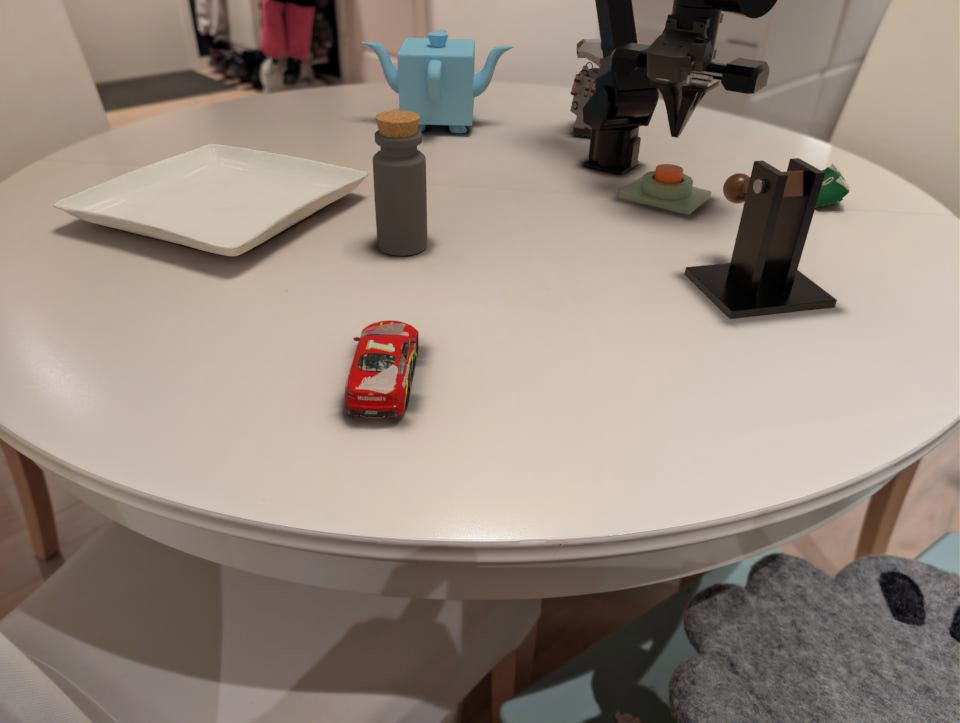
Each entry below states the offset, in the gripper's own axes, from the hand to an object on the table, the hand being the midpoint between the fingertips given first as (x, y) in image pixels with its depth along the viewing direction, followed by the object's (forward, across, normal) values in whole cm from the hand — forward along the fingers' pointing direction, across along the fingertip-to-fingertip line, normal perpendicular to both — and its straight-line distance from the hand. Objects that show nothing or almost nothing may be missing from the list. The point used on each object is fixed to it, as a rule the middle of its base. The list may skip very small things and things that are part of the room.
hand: (675, 136), depth 96 cm
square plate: (+9, -43, -39) cm, 59 cm away
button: (+6, 0, 0) cm, 6 cm away
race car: (+9, -3, -55) cm, 56 cm away
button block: (+9, 0, 0) cm, 9 cm away
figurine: (+9, -21, +23) cm, 32 cm away
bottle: (+9, -19, -33) cm, 39 cm away
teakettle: (+9, -46, +10) cm, 48 cm away
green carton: (+9, +17, +13) cm, 23 cm away
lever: (0, +16, -17) cm, 24 cm away
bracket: (+9, +18, -19) cm, 28 cm away
